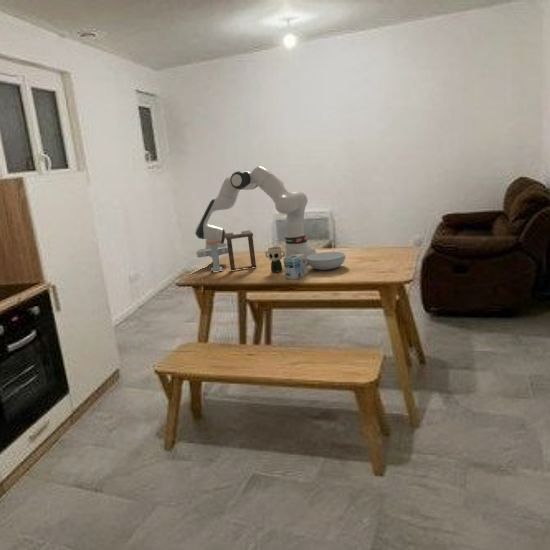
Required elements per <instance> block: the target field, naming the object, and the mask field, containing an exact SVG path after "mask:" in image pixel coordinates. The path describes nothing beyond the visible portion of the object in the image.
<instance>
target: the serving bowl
mask: <svg viewBox="0 0 550 550" xmlns="http://www.w3.org/2000/svg"><path fill="white" fill-rule="evenodd" d="M306 260H307V263H308V264H307V265H308V266H310V268H313V269H315V270H319V271H331V270H333V269H335V268H339V267H340V266H342V265H343V264H344V262H345V260H346V253H345V252H343V251H342V252H341V251H325V252H316V254H312V255H309V256H307V257H306Z"/></svg>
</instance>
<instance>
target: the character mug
mask: <svg viewBox="0 0 550 550" xmlns="http://www.w3.org/2000/svg"><path fill="white" fill-rule="evenodd" d="M264 253H265V258H267V259H268V260H269V261H271V262H270V271H271V272H272V273H275V272H277V273H278V272H281V271H282V270H283V265H282V261H281V260H282V258H285V250H282V247H281V246H271V247H268V248H267V251H265V252H264ZM274 271H275V272H274Z"/></svg>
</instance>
